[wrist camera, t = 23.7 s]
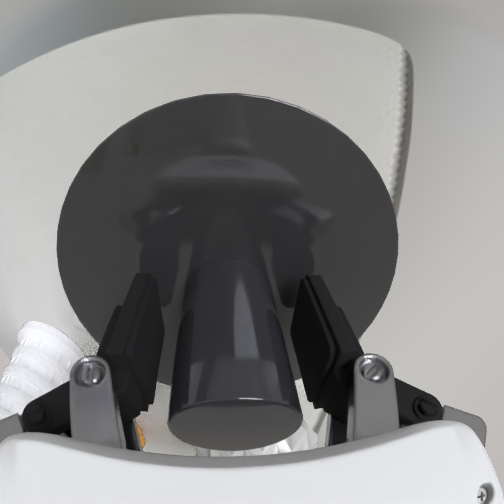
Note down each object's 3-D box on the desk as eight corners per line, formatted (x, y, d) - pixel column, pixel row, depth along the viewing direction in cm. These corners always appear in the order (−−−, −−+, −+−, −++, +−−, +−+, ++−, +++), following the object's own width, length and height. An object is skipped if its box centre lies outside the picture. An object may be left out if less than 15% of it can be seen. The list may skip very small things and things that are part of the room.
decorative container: (98, 383, 33) (74, 491, 17) (38, 368, 31) (5, 460, 16) (75, 329, 27) (27, 461, 12) (10, 314, 26) (-46, 418, 10)
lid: (48, 112, 8) (-92, 155, 2) (415, 126, 10) (555, 177, 3) (109, 371, 15) (87, 468, 9) (341, 370, 17) (374, 462, 11)
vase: (307, 362, 33) (345, 497, 17) (302, 416, 41) (324, 511, 25) (181, 377, 33) (175, 513, 17) (208, 427, 41) (212, 523, 25)
